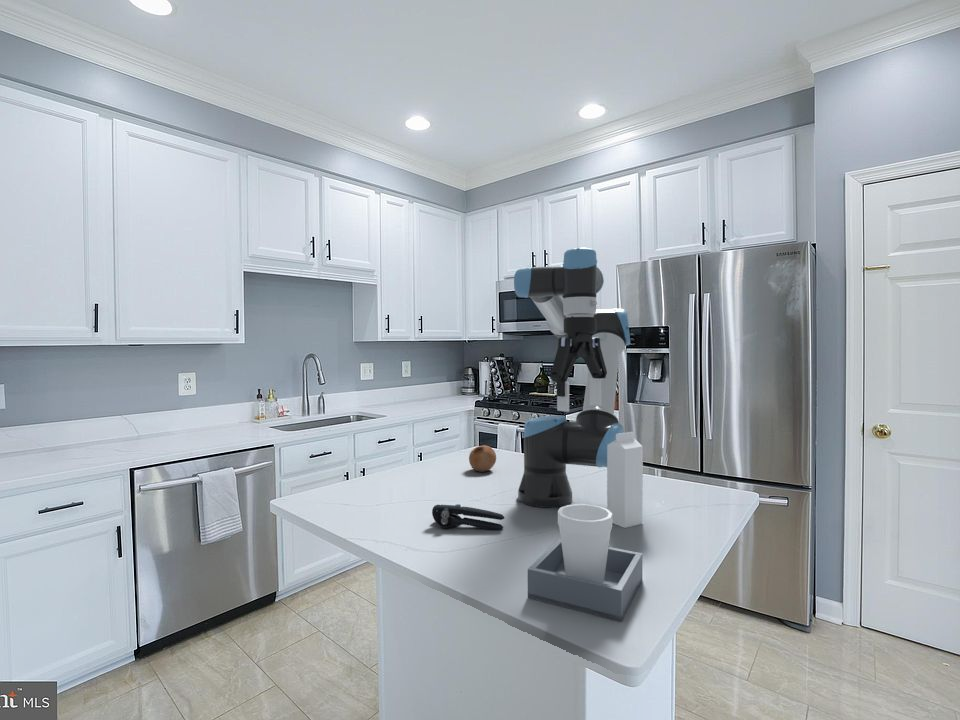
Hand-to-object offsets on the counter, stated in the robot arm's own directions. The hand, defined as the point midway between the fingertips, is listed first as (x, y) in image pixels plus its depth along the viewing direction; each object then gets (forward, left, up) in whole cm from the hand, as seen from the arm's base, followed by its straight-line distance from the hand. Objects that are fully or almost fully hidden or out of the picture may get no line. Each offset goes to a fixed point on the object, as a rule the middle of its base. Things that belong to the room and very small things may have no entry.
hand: (580, 408), depth 118 cm
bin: (+10, -27, -29) cm, 41 cm away
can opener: (-24, -11, -29) cm, 39 cm away
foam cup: (+10, -27, -28) cm, 40 cm away
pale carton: (+8, +10, -29) cm, 32 cm away
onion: (-47, +38, -29) cm, 67 cm away
